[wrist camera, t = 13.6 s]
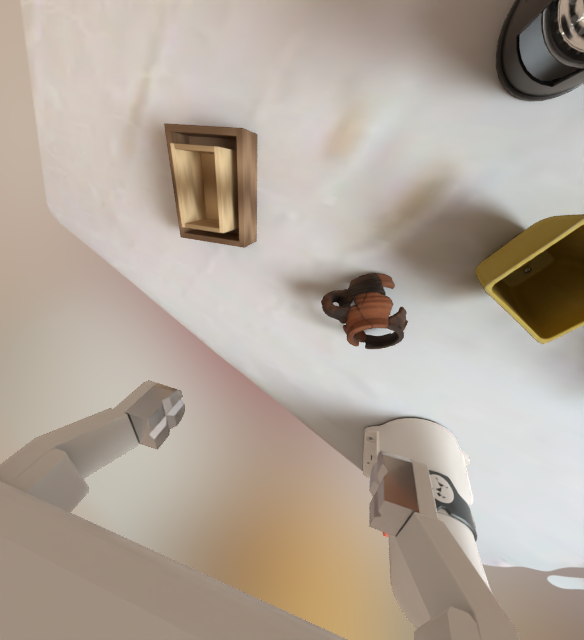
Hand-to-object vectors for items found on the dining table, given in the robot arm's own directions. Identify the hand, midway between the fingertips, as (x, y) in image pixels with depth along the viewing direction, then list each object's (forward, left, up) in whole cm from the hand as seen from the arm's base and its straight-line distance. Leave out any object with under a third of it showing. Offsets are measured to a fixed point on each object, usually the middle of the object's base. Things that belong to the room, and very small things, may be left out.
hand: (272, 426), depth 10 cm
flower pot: (+2, -20, -29) cm, 36 cm away
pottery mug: (-7, -4, -29) cm, 31 cm away
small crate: (+6, +18, -28) cm, 34 cm away
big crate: (+6, +18, -29) cm, 35 cm away
